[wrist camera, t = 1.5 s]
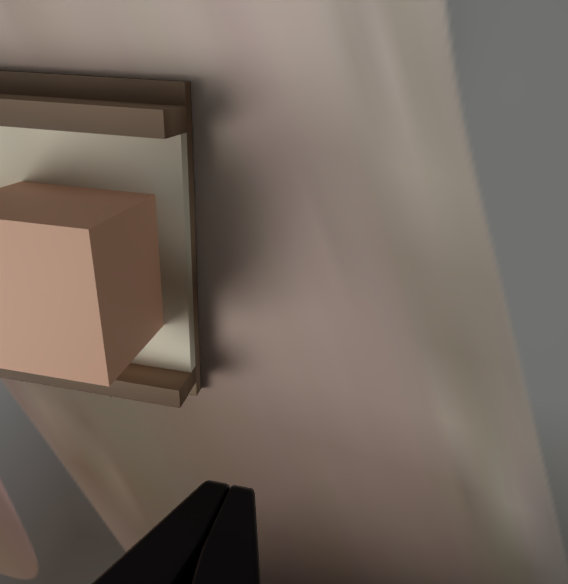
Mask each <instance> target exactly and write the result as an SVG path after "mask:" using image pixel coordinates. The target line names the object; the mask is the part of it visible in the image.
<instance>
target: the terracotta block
mask: <svg viewBox="0 0 568 584" xmlns="http://www.w3.org/2000/svg"><path fill="white" fill-rule="evenodd" d="M163 325H164V318H163V303H162V288H161V274H160V259H159V244H158V230H157V215H156V200H155V194H145V193H135V192H125V191H115V190H105V189H95V188H84V187H74V186H64V185H54V184H44V183H34V182H24V181H21V182H18V183H14V184H11V185H8V186H4V187H1V188H0V368H1V369H7V370H13V371H19V372H25V373H31V374H37V375H43V376H49V377H55V378H61V379H67V380H73V381H79V382H85V383H91V384H97V385H103V386H108V387H109V386H110V385H111V384H112V383H113V382H114V381H115V380H116V378H117V377H118V376H119V375H120V374H121V373H122V372H123V371H124V369H125V368H126V367H127V366H128V365H129V364H130V363H131V362H132V360H133V359H134V358H135V357H136V356H137V355H138V354H139V353H140V351H141V350H142V349H143V348H144V347H145V346H146V345H147V344H148V342H149V341H150V340H151V339H152V338H153V337H154V336H155V335H156V333H157V332H158V331H159V330H160V329H161V328H162V327H163Z"/></svg>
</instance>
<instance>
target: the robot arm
mask: <svg viewBox="0 0 568 584" xmlns="http://www.w3.org/2000/svg"><path fill="white" fill-rule="evenodd" d="M92 584H260V569H259V553H258V538H257V522H256V506H255V493H254V490H253V489H251V488H247V487H242V486H237V485H233V486H231V487H230V486H229V485H228V484H226V483H221V482H216V481H210V480H208V481H205V482H204V483H202V484H201V485H200V486H199V487H198V488H197V489H196V490H195V491H194V492H192V493H191V494H190V495H189V496H188V497H187V498H186V499H185V500H184V501H183V502H181V503H180V504H179V505H178V506H177V507H176V508H175V509H174V510H173V511H171V512H170V513H169V514H168V515H167V516H166V517H165V518H164V519H163V520H162V521H160V522H159V523H158V524H157V525H156V526H155V527H154V528H153V529H152V530H150V531H149V532H148V533H147V534H146V535H145V536H144V537H143V538H142V539H141V540H139V541H138V542H137V543H136V544H135V545H134V546H133V547H132V548H131V549H129V550H128V551H127V552H126V553H125V554H124V555H123V556H122V557H121V558H120V559H119V560H117V561H116V562H115V563H114V564H113V565H112V566H111V567H110V568H109V569H107V570H106V571H105V572H104V573H103V574H102V575H101V576H100V577H99V578H97V580H95V581H94V582H93V583H92Z"/></svg>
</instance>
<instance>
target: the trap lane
mask: <svg viewBox="0 0 568 584" xmlns="http://www.w3.org/2000/svg"><path fill="white" fill-rule="evenodd" d="M21 181H24V182H34V183H44V184H54V185H64V186H74V187H84V188H95V189H105V190H115V191H125V192H135V193H145V194H155V200H156V215H157V230H158V244H159V259H160V274H161V288H162V303H163V318H164V325H163V327H162V328H161V329H160V330H159V331H158V332H157V333H156V335H155V336H154V337H153V338H152V339H151V340H150V341H149V342H148V344H147V345H146V346H145V347H144V348H143V349H142V350H141V351H140V353H139V354H138V355H137V356H136V357H135V358H134V359H133V360H132V362H131V363H130V364H129V365H128V366H127V367H126V368H125V369H124V371H123V372H122V373H121V374H120V375H119V376H118V377H117V378H116V380H115V381H114V382H113V383H112V384H111V385H110V386H109V387H108V386H103V385H97V384H91V383H85V382H79V381H73V380H67V379H61V378H55V377H49V376H43V375H37V374H31V373H25V372H19V371H13V370H7V369H1V368H0V377H2V378H8V379H14V380H20V381H25V382H31V383H37V384H43V385H49V386H54V387H60V388H66V389H72V390H78V391H84V392H89V393H95V394H101V395H107V396H113V397H119V398H124V399H130V400H136V401H142V402H148V403H154V404H159V405H165V406H171V407H177V408H180V407H181V406H182V404H183V402H184V401H185V399H186V398H187V396H188V395H194V396H197V394H198V393H199V391H200V389H201V380H200V350H199V320H198V290H197V259H196V229H195V199H194V169H193V138H192V108H191V82H187V81H170V80H153V79H136V78H119V77H102V76H85V75H68V74H51V73H34V72H17V71H0V188H1V187H4V186H8V185H11V184H14V183H18V182H21Z"/></svg>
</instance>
